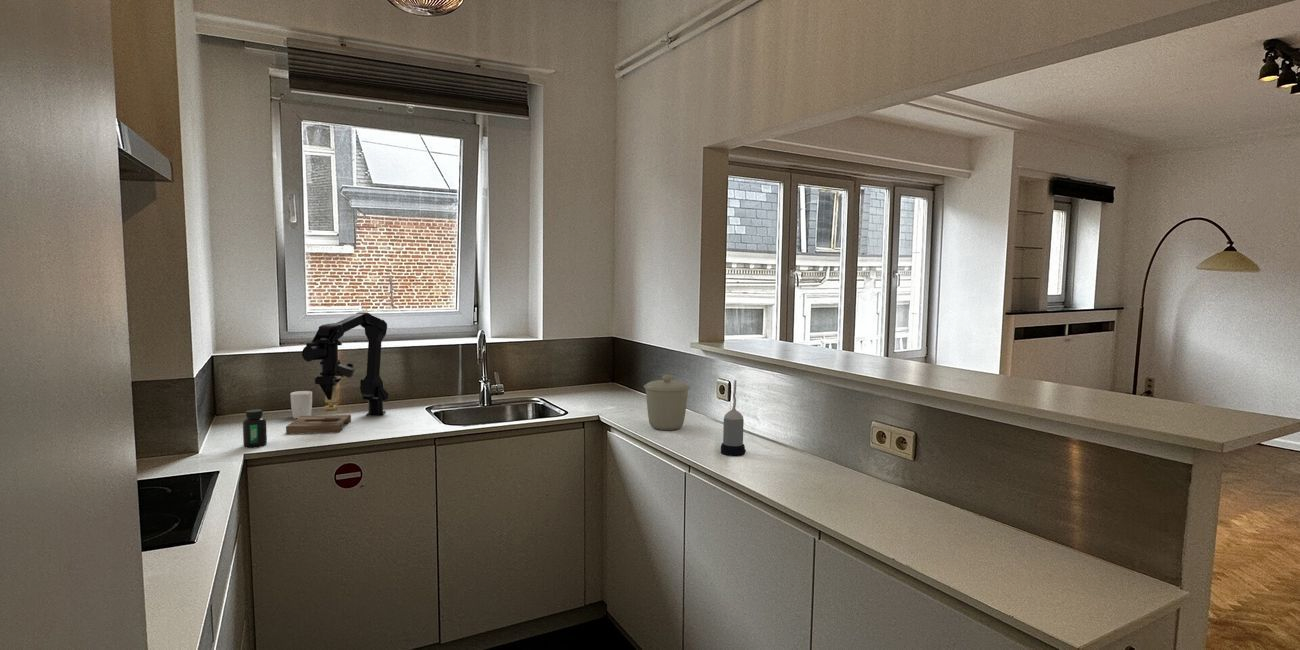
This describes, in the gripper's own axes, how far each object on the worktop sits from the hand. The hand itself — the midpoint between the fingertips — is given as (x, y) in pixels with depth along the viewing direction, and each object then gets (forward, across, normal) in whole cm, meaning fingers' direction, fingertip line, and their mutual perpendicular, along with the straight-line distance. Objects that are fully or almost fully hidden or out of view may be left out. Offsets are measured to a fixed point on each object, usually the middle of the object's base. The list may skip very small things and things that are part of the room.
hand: (330, 398), depth 249 cm
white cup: (+11, +20, +16) cm, 28 cm away
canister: (+11, -19, -127) cm, 129 cm away
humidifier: (+11, -58, -141) cm, 153 cm away
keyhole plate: (+11, 0, +4) cm, 12 cm away
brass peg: (+4, 0, 0) cm, 4 cm away
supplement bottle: (+11, -24, +18) cm, 32 cm away
